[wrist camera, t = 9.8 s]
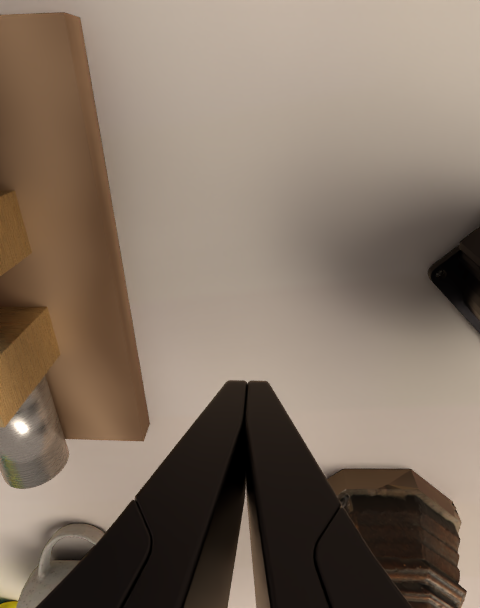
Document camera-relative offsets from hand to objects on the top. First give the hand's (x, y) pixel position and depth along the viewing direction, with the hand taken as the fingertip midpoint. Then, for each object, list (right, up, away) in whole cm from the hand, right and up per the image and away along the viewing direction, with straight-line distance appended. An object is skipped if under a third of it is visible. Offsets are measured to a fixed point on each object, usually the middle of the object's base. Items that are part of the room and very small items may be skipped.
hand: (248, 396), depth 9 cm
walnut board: (-12, +4, +14) cm, 19 cm away
